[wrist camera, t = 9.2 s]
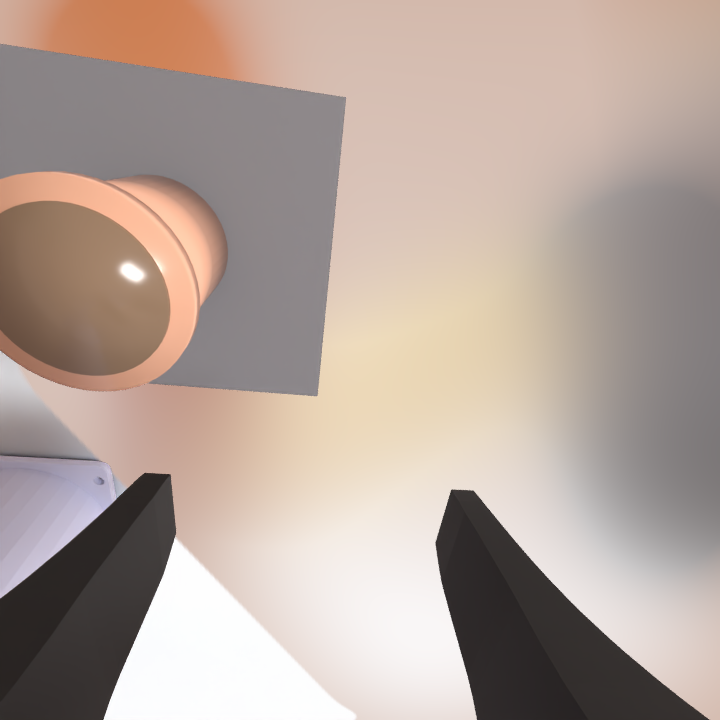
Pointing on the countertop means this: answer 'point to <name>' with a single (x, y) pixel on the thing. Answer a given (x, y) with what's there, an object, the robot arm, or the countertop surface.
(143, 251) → the pot
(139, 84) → the slate mat
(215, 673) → the countertop surface
